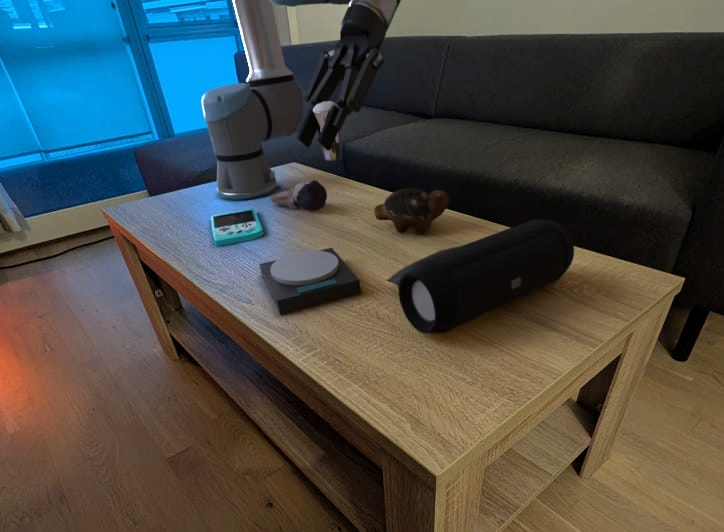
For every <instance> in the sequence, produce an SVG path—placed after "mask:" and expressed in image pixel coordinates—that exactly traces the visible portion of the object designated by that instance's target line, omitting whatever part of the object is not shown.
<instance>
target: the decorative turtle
mask: <svg viewBox="0 0 724 532" xmlns="http://www.w3.org/2000/svg"><path fill="white" fill-rule="evenodd" d="M449 203H450V198H449V195H448V194H447V193H446V192H445V191H443V190H440V189H436V190H432V191H431V192H430V193H428V192H427V191H426V190H424V189H420V188H411V187H410V188H402V189H398V190H396V191H394V192H393V193H391V194H390V195H389V196H388V197H387V198H386V199H385V200H384V202H383V203H382V204H378V205H376V206H375V207H374V209H373V212H374V216H375V218H376V220H378V221H391V222H392V223H393V225H394V228H395V230H396V232H397V233H399V234H403V233H405V232H407V230H409V229H410V228H412V229H413V230H414V231H415V232H416V234H418V235H419V236H424V235H425V234H426V233H427V232H428V229H429V227H430V225H432V223H433V221H435V220H436V219H438V218H439V217H441V215H443V214H444V212H445V211H446V209H447V207H448V206H449Z"/></svg>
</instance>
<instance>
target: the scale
mask: <svg viewBox="0 0 724 532" xmlns="http://www.w3.org/2000/svg"><path fill="white" fill-rule="evenodd" d="M258 266H259V270H260V274H261V278H262V279H263V283H264V284H265V286H266V288H267V290H268V292H269V294H270V297H271V298H272V300H273V303H274V305H275V307H276V309H277V311H278V313H279V316H282V315H287V314H290V313H294V312H297V311H302V310H306V309H309V308H314V307H317V306H321V305H324V304H329V303H332V302H337V301H341V300H343V299H348V298H351V297H355V296H358V295H362V289H361V280H360V278H359V277H358V276H357V274H356V273H355V272H354V271H353V270H352V269H351V268H350V267H349V266H348V265H347V263H346V262H345V261H344V260H343V259H342V257H340V255H339V254H338V252H337V251H336V250H335V249H334V248H333V247H328V248H323V249H320V250H317V249H315V250H313V249H312V250H301V251H296V252H292V253H289V254H286V255H283V256H282V257H280V258H278V259H275V260H269V261H266V262H262V263H259V264H258Z"/></svg>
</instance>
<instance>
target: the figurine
mask: <svg viewBox="0 0 724 532" xmlns="http://www.w3.org/2000/svg"><path fill="white" fill-rule="evenodd" d="M270 194H271V195H270V196H271V199H270V200H271V202H272V203H276V204H277V205H278V206H281V207H285V206H286V207H289V208H290V210H295V209H296V208H299V207H300V208H301V209H303V210H305V211H309V212H315V211H318V210H321V209H323V208H324V207H325V206H326V203H327V199H328V192H327V189H326V188H325V186H323V185H322V184H321V183H320V182H319V180H314V179H313V180H311V181H308V182H307V181H303V182H298V183H297V184H296V185H295V187H294V188H292V187H291V188H288V190H284V191H281V192H278V193H274V192H272V193H270Z"/></svg>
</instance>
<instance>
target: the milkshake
mask: <svg viewBox="0 0 724 532" xmlns="http://www.w3.org/2000/svg"><path fill="white" fill-rule="evenodd" d="M306 99H307V98H306ZM307 101H308V100H307ZM308 103H309V102H308ZM318 103H319V102H318ZM309 105H310V104H309ZM333 105H335V106H337V107H339V106H338V105H337V104H336V103H335V101H331V100H328V101H327V102H325V101H324V102H322V103H319V104H317V105H316V106H315V107H314V108H313V109H312V110H313V113H314V117H315V121H316V125H317V133H318V136H319V135H320V133H321V131H322V129H323V126H324V124H325V122H326V120H327V117H328V115H329V113H330V110H331V108H332V106H333ZM310 106H311V105H310ZM311 108H312V107H311ZM320 147H321V151H322V155H323V159H324V160H325V161H336V160H340V159H342V157H343V151H342V137H341V130H340V131H338V133H337V136H336V138H335V140H334V142H333V145H332V147H331V149H330V151H328V150H326V149H325V148H324V147H323V146H322V145H321V144H320Z"/></svg>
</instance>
